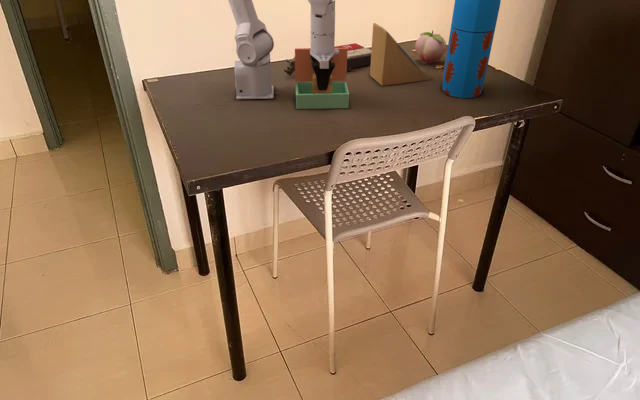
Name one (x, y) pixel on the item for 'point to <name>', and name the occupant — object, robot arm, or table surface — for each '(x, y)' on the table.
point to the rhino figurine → (290, 66)
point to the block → (315, 87)
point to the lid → (305, 68)
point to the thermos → (469, 47)
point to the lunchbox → (321, 96)
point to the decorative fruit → (430, 47)
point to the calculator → (357, 55)
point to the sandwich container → (391, 60)
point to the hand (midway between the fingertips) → (322, 86)
